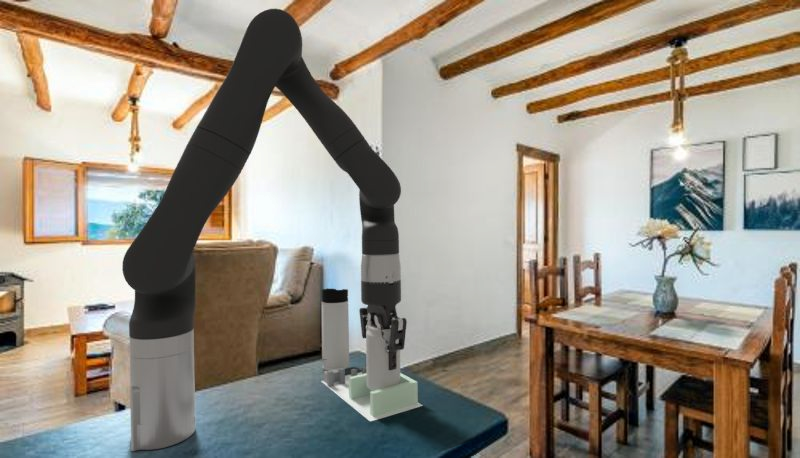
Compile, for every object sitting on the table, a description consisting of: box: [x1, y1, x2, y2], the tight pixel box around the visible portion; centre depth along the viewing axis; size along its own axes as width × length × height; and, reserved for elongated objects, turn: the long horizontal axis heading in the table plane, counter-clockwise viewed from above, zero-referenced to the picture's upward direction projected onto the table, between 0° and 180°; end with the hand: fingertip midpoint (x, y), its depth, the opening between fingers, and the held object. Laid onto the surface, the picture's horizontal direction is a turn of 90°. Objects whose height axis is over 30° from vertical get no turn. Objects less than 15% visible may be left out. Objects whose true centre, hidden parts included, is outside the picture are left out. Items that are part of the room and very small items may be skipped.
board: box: [320, 366, 424, 422], centre depth 83 cm, size 11×22×4 cm, turn 33°
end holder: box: [349, 372, 419, 417], centre depth 79 cm, size 10×10×4 cm
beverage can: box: [365, 325, 401, 391], centre depth 78 cm, size 6×6×12 cm
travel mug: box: [321, 288, 350, 373], centre depth 98 cm, size 6×7×20 cm
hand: (382, 366), depth 79 cm, fingers closed on beverage can, 5 cm apart
